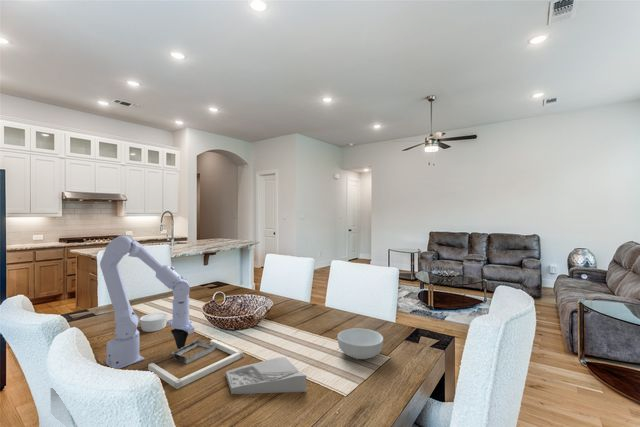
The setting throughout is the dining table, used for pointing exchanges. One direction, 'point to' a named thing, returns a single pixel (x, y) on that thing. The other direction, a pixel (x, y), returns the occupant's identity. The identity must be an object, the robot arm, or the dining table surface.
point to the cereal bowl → (360, 343)
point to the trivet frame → (202, 372)
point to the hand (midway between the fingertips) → (180, 347)
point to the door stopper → (266, 377)
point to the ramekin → (153, 322)
